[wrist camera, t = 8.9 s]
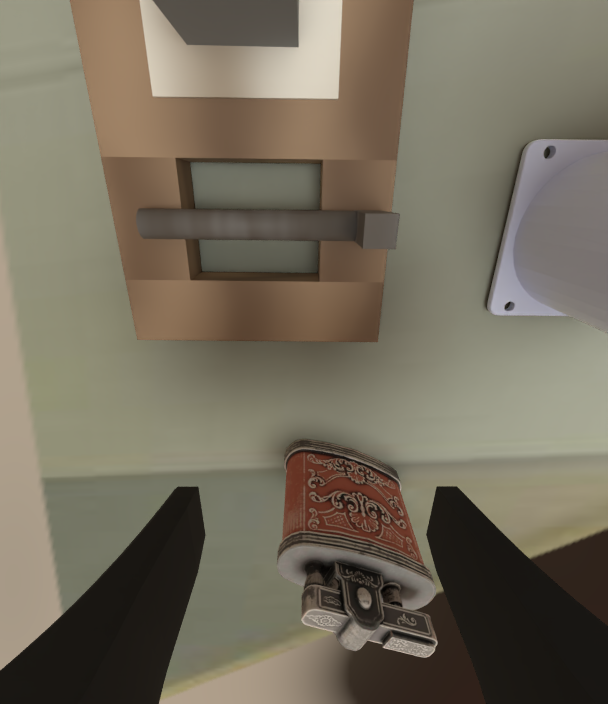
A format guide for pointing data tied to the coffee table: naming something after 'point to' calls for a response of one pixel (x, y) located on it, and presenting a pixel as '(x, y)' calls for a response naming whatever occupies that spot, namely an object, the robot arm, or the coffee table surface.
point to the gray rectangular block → (234, 22)
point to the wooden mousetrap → (250, 147)
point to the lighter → (354, 550)
